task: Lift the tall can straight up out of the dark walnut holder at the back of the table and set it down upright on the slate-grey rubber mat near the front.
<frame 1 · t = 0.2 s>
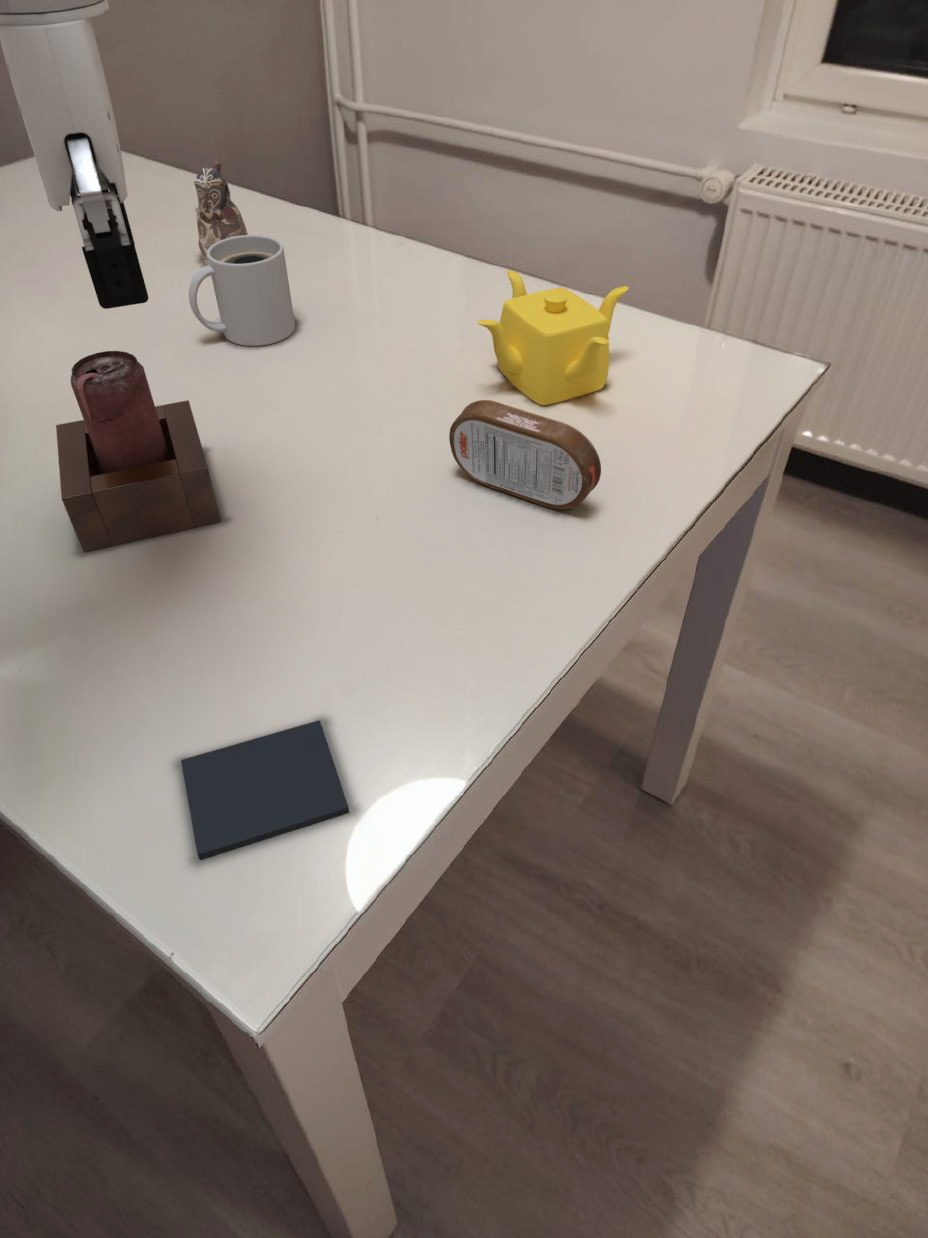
hand: (119, 275, 62), 24 cm above the table, tool pointing down, fingers open, 9 cm apart
tin: (519, 493, 84), on the table
teapot: (550, 378, 100), on the table
figurine: (226, 258, 125), on the table
can: (147, 500, 84), resting in holder
mat: (264, 787, 60), on the table
mug: (251, 332, 108), on the table
holder: (146, 498, 84), on the table
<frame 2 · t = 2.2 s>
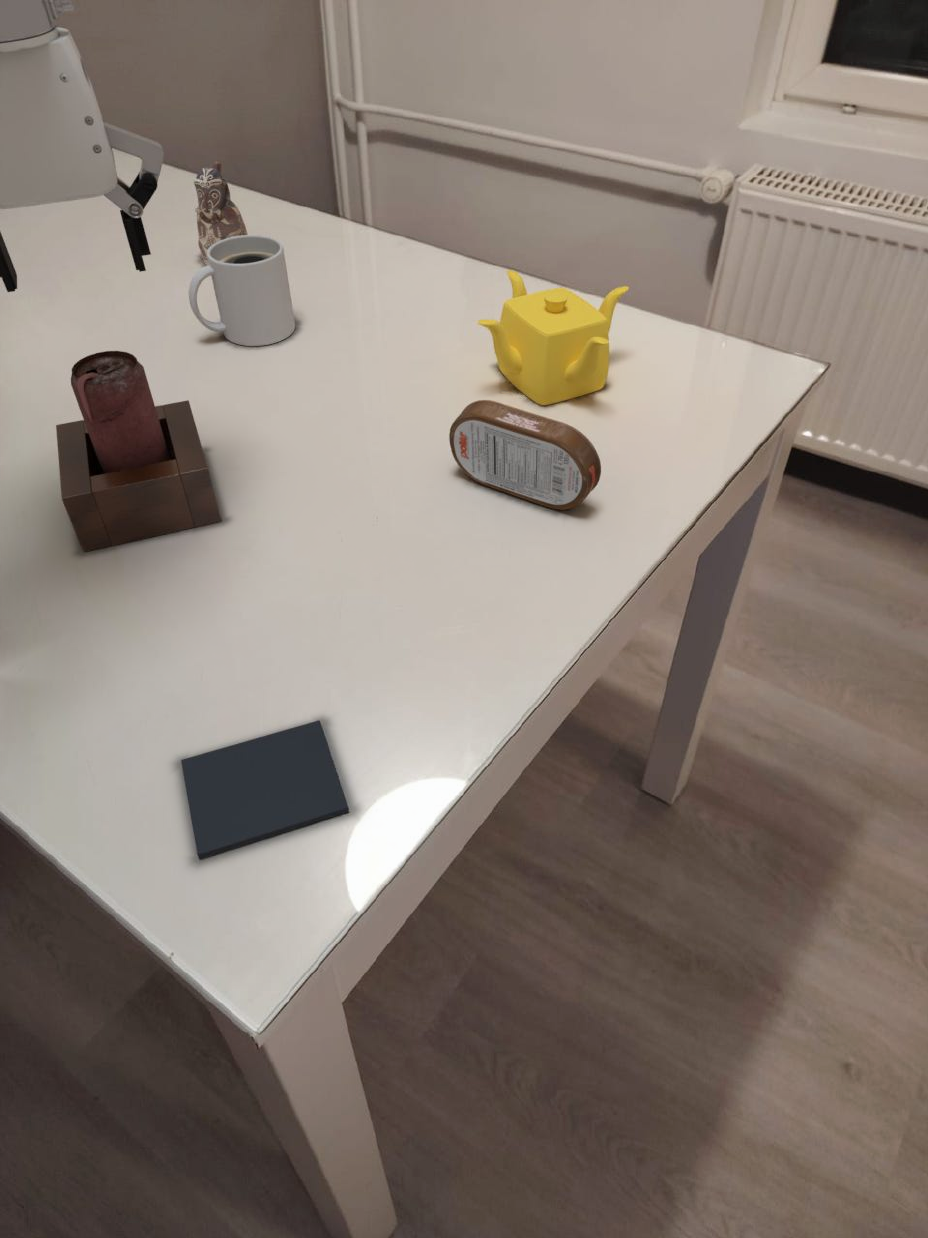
hand: (77, 274, 68), 22 cm above the table, tool pointing down, fingers open, 9 cm apart
nothing on the table moved.
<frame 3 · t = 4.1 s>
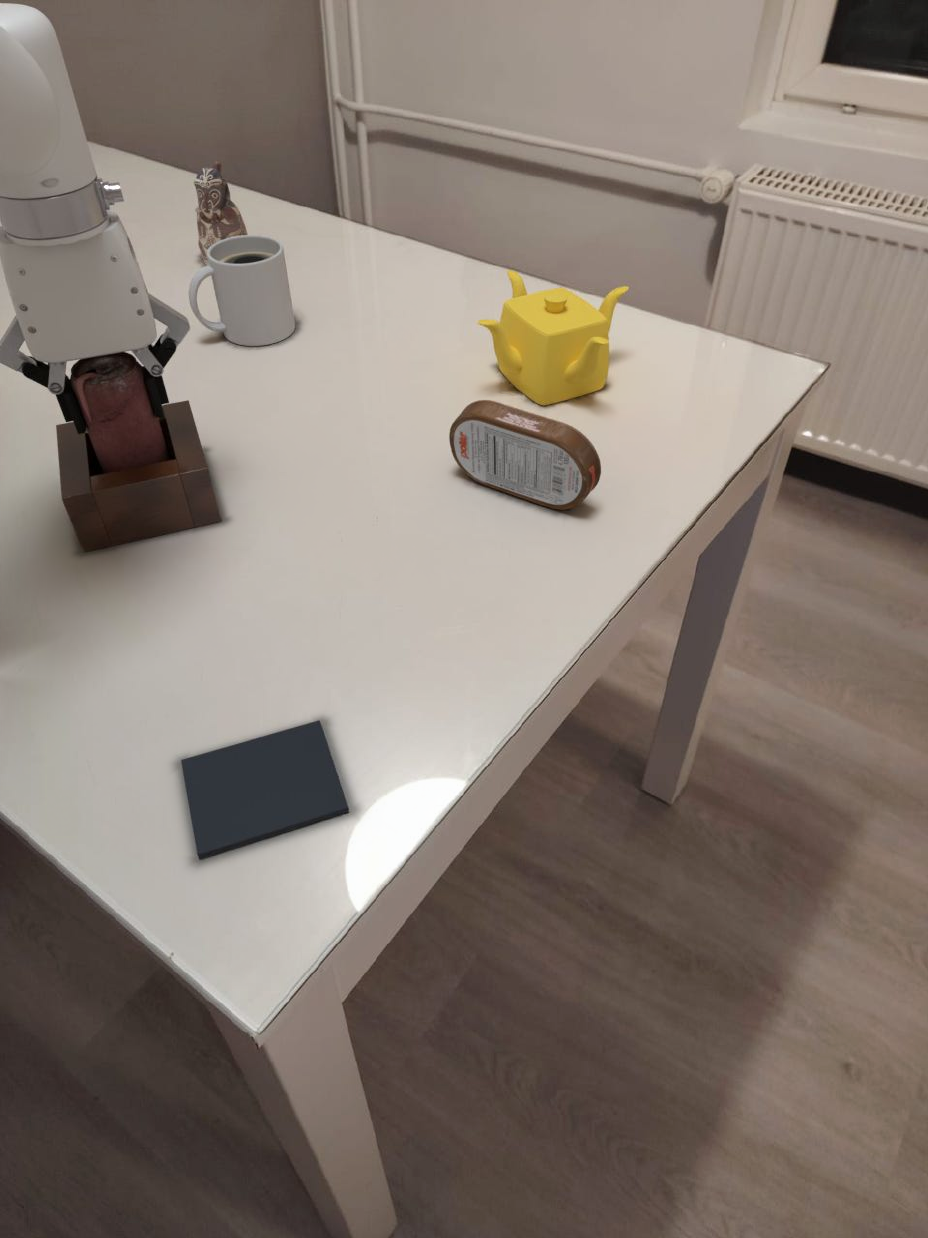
hand: (120, 416, 77), 9 cm above the table, tool pointing down, fingers closed on can, 6 cm apart
can: (147, 500, 84), resting in holder, touching gripper
everything else where it was.
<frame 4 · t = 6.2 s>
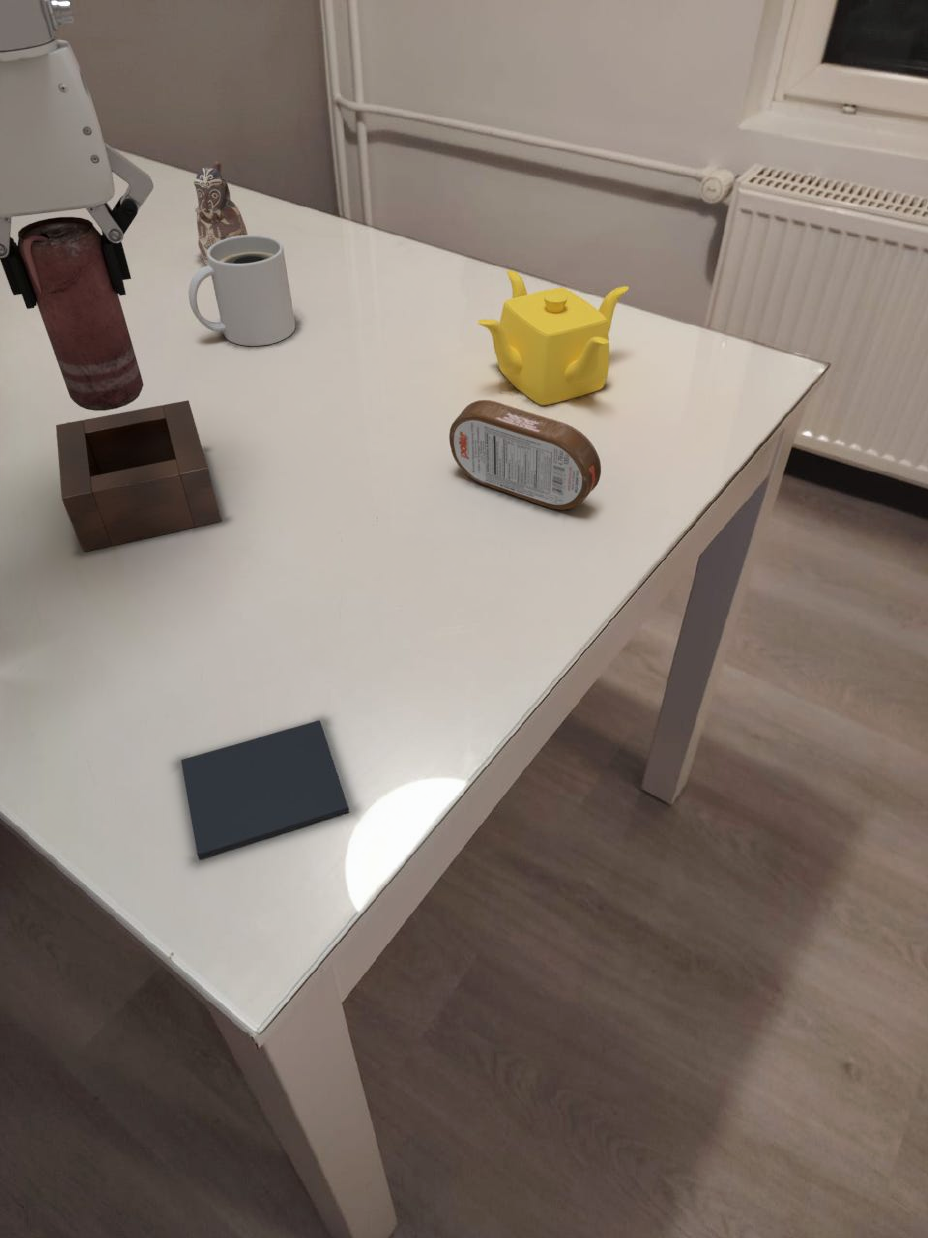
hand: (75, 292, 69), 21 cm above the table, tool pointing down, fingers closed on can, 6 cm apart
can: (108, 397, 75), point 11 cm above the table, touching gripper
everything else where it was.
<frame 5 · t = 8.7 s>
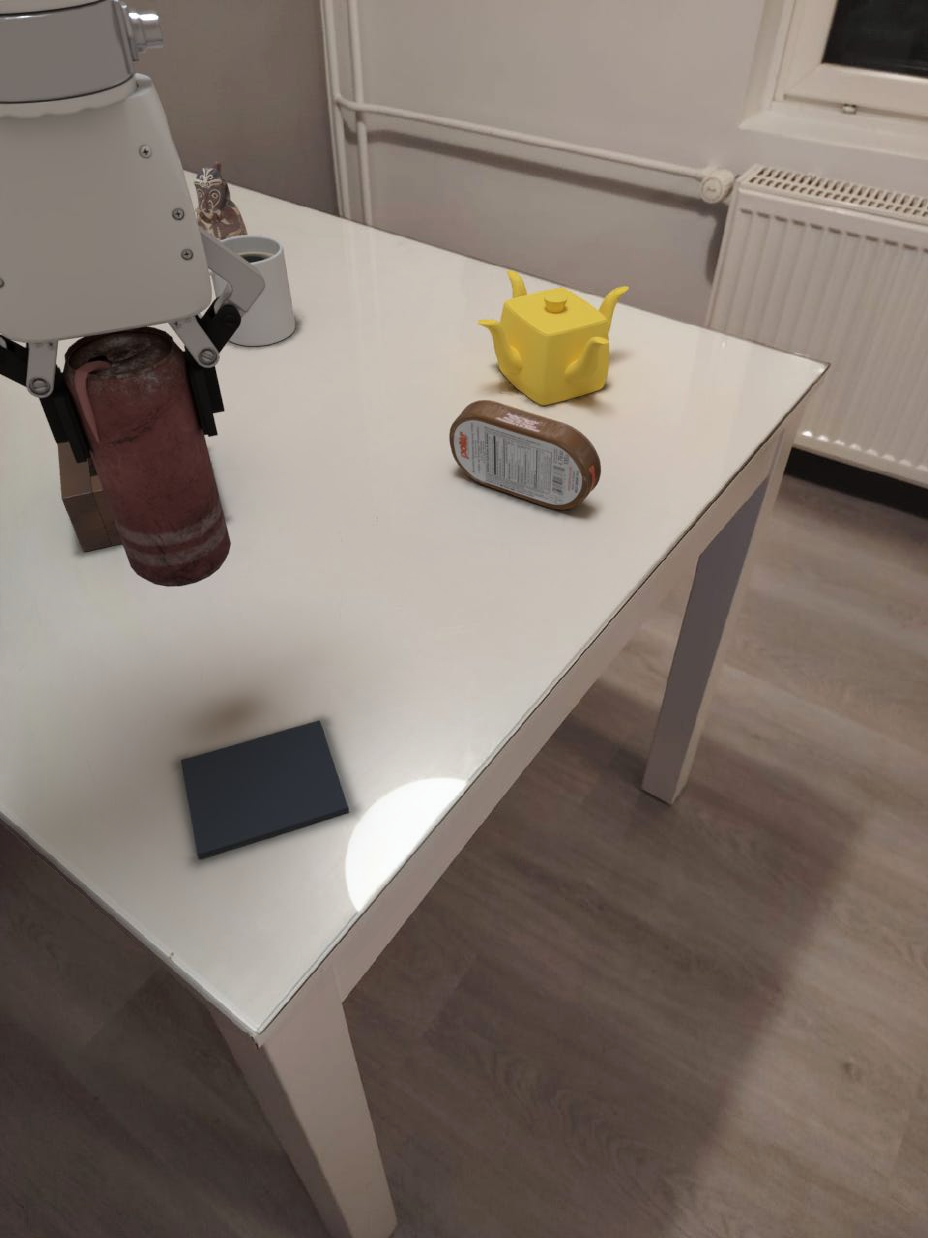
hand: (145, 433, 48), 24 cm above the table, tool pointing down, fingers closed on can, 6 cm apart
can: (182, 561, 54), point 15 cm above the table, touching gripper
everything else where it was.
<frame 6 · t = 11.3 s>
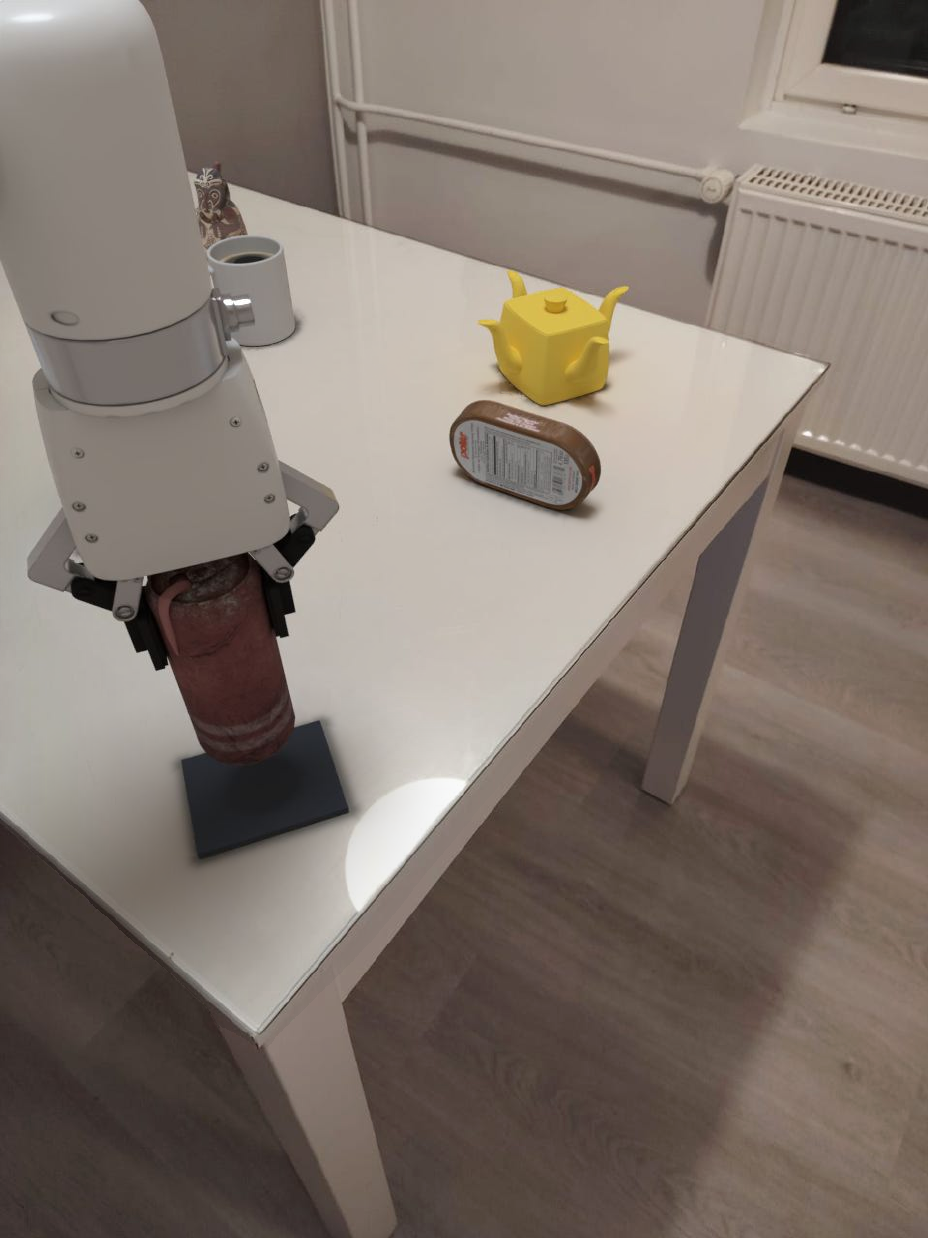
hand: (219, 634, 49), 15 cm above the table, tool pointing down, fingers closed on can, 6 cm apart
can: (248, 734, 56), point 6 cm above the table, touching gripper
everything else where it was.
when the fingers open (10 cm above the table, at t = 13.2 s): can stays where it is, resting on mat.
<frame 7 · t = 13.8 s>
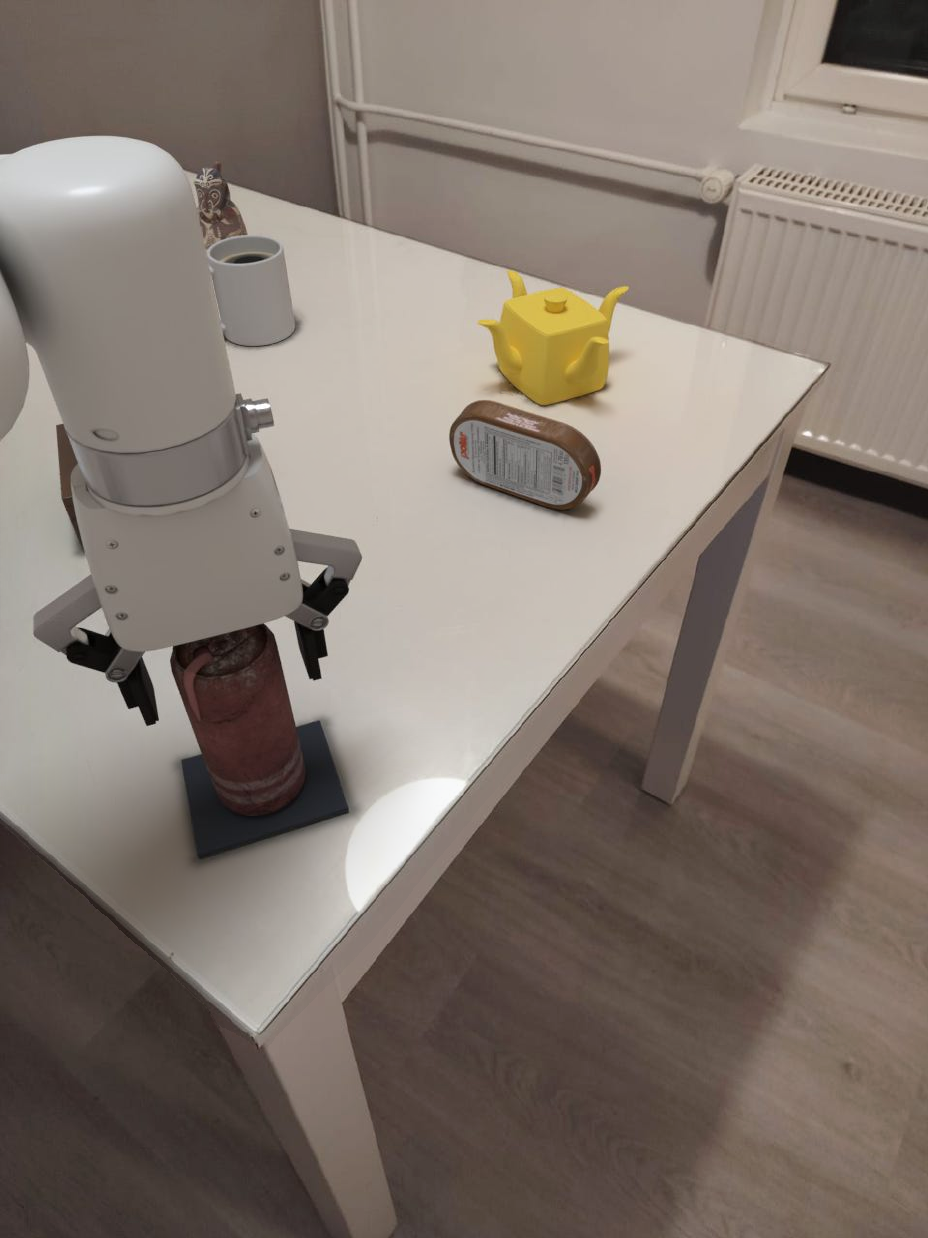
hand: (232, 685, 52), 11 cm above the table, tool pointing down, fingers open, 9 cm apart
can: (261, 785, 60), resting on mat
everything else where it was.
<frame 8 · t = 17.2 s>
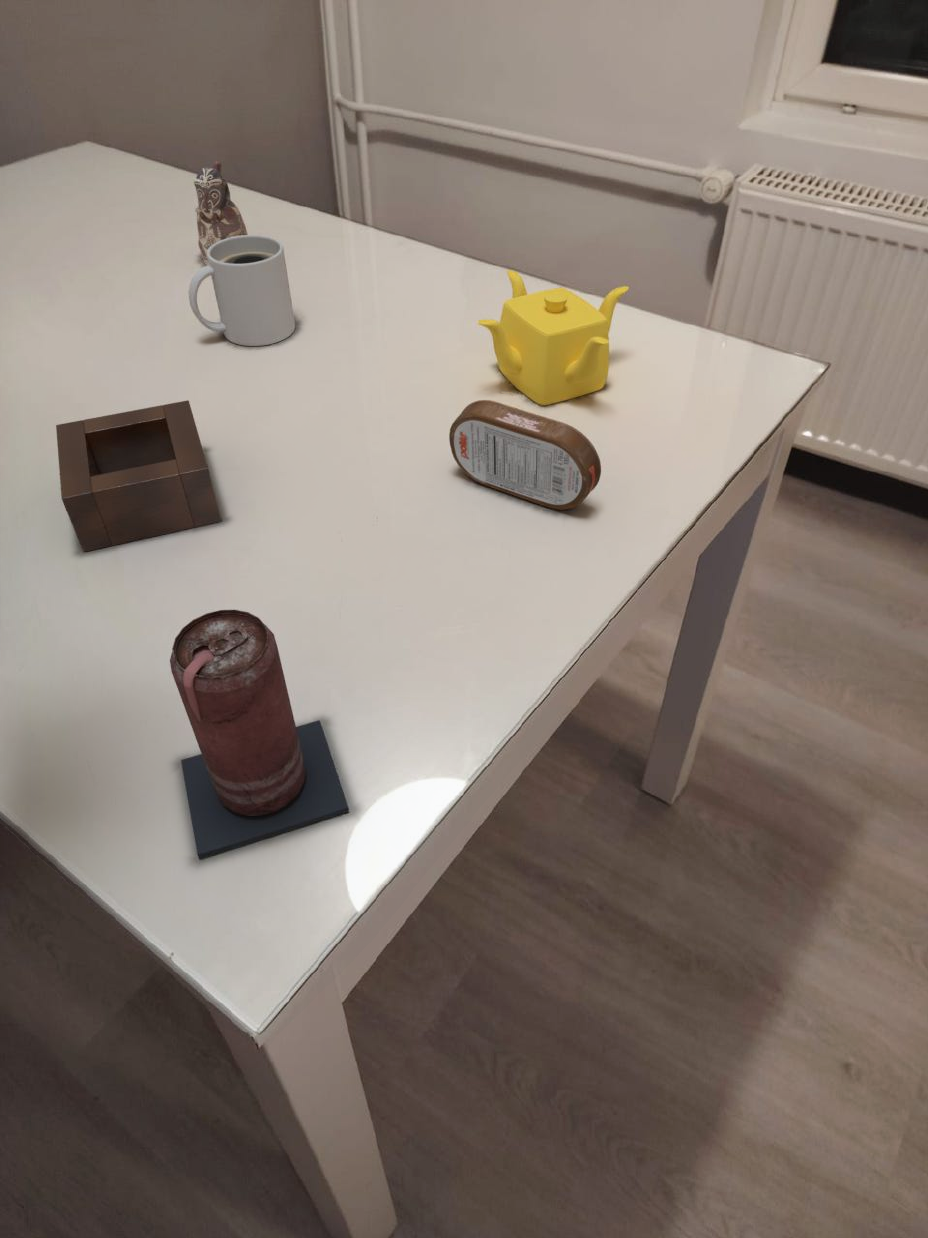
nothing on the table moved.
at the end: can 0.1 cm off-centre on the mat, point 0.4 cm above the mat's base; can tilted 0°; can touching mat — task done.
